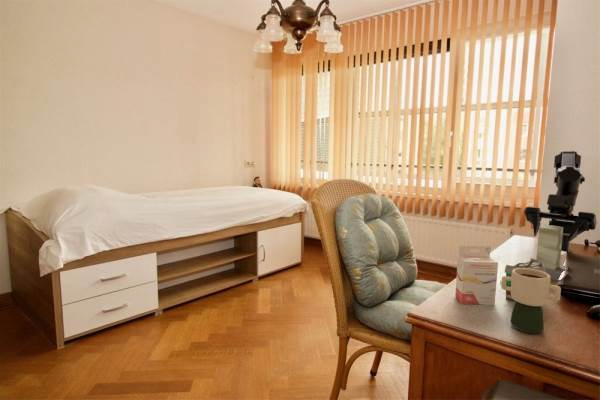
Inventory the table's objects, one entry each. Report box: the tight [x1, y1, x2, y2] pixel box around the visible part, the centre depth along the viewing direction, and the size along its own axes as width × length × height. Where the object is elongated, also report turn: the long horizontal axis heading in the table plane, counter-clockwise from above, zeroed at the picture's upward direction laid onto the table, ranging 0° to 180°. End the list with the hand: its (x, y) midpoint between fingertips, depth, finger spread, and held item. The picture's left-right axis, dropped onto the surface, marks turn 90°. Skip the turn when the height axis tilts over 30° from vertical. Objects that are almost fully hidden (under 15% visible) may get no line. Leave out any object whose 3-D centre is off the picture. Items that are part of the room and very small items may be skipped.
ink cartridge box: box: [455, 245, 499, 306], centre depth 90 cm, size 9×5×15 cm, turn 84°
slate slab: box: [545, 265, 567, 282], centre depth 110 cm, size 9×9×3 cm
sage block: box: [535, 224, 563, 270], centre depth 109 cm, size 5×5×13 cm
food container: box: [504, 257, 546, 303], centre depth 90 cm, size 12×6×10 cm, turn 117°
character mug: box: [500, 268, 562, 334], centre depth 76 cm, size 11×7×13 cm, turn 52°
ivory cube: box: [560, 251, 568, 266], centre depth 118 cm, size 5×5×5 cm
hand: (551, 238), depth 110 cm, fingers open, 9 cm apart
